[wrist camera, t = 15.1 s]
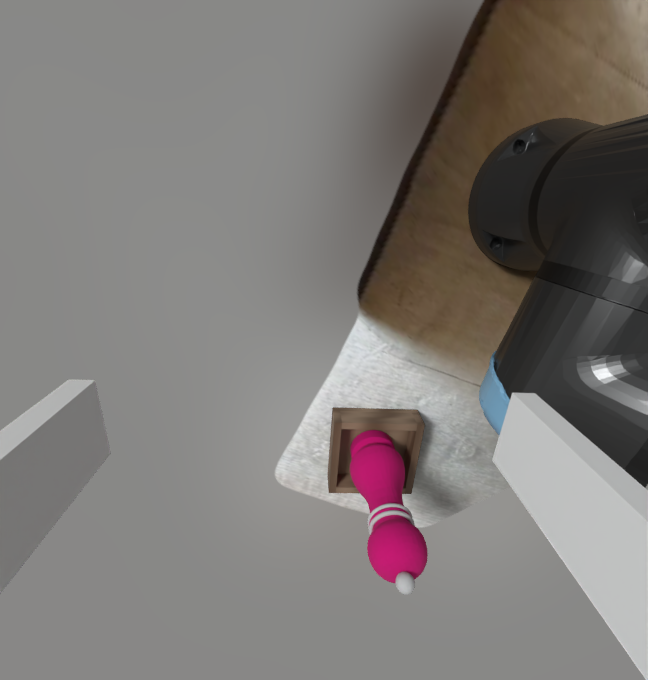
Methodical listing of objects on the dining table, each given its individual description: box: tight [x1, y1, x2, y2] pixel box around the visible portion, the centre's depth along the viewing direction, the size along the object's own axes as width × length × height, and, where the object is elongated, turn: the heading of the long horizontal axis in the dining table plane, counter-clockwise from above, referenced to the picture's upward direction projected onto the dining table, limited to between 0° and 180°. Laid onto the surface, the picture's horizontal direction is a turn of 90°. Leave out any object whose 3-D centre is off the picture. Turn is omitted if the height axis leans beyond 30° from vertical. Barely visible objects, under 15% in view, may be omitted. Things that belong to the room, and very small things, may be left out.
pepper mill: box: [350, 430, 427, 594], centre depth 41 cm, size 7×7×20 cm
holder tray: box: [328, 408, 425, 494], centre depth 49 cm, size 12×12×4 cm
